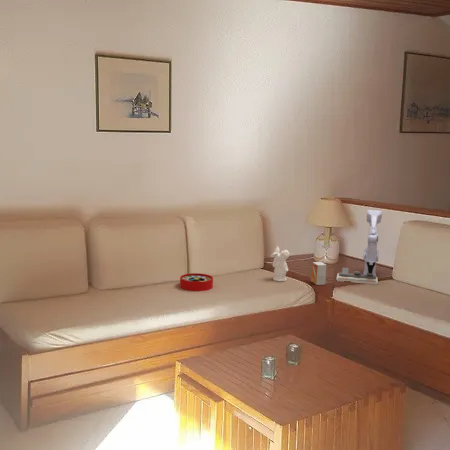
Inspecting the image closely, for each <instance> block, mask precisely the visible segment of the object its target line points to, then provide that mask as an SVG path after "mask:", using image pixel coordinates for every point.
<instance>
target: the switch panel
mask: <svg viewBox="0 0 450 450" xmlns="http://www.w3.org/2000/svg"><path fill="white" fill-rule="evenodd" d="M363 274H364V273H361V275H358V274H354V273H351V272H348V276H347V275H342V271H339V272H338V273H337V275H336V278H335V279H336V280H337V282H344V281H351V282H350V283H355V284H356V283H359V284H368V285H378V284H379V281H378V280H379V279H378V276H377V275H376V276H374V275H373V276H369V275H363ZM336 280H335V281H336Z"/></svg>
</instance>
